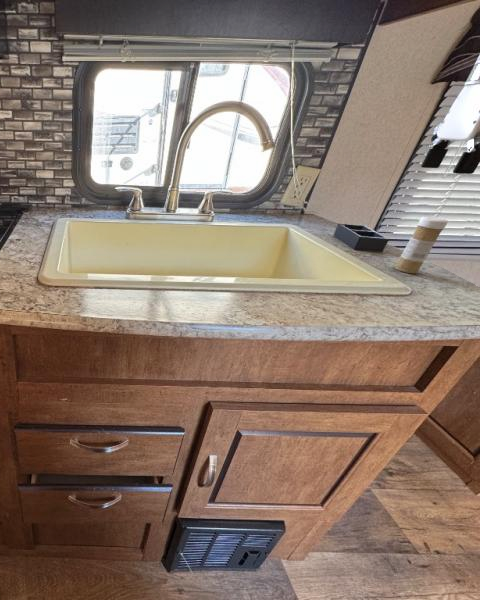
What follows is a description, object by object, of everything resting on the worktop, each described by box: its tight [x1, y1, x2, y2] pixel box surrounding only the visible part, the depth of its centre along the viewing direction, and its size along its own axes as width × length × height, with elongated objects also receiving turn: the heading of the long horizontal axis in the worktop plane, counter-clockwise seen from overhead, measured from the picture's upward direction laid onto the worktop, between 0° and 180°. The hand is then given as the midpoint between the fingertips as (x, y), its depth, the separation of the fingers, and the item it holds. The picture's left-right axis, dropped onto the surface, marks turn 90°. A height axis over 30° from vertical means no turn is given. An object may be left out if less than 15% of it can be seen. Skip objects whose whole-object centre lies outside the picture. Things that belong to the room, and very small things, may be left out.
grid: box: [332, 222, 390, 253], centre depth 98 cm, size 7×14×4 cm, turn 165°
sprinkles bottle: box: [394, 216, 449, 274], centre depth 77 cm, size 5×5×13 cm
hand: (444, 170), depth 69 cm, fingers open, 9 cm apart
